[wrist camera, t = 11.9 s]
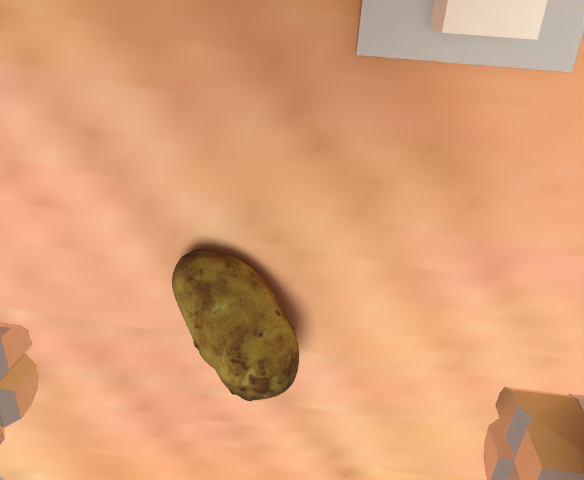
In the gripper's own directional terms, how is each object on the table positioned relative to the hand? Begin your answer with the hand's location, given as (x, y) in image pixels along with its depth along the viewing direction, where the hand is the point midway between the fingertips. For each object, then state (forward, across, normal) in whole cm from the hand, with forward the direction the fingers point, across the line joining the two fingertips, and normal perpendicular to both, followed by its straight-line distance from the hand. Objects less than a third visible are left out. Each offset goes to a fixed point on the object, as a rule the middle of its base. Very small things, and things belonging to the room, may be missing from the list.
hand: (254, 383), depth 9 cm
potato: (+30, +6, +18) cm, 36 cm away
